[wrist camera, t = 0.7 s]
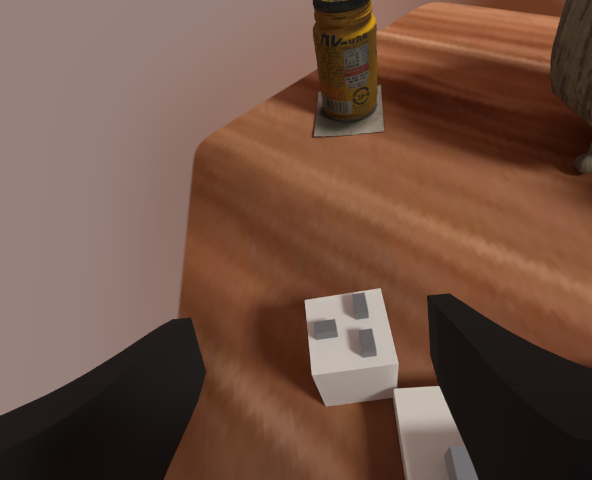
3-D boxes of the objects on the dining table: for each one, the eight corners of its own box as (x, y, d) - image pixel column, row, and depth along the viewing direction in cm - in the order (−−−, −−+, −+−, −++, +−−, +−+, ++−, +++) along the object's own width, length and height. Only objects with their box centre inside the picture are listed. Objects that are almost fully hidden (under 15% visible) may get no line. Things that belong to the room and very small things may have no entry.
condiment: (380, 86, 46) (379, -32, 36) (384, 132, 40) (383, 9, 31) (318, 93, 47) (301, -19, 38) (314, 139, 42) (293, 22, 33)
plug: (396, 397, 25) (398, 357, 20) (325, 406, 25) (309, 370, 20) (381, 331, 28) (380, 281, 22) (318, 340, 28) (302, 293, 23)
